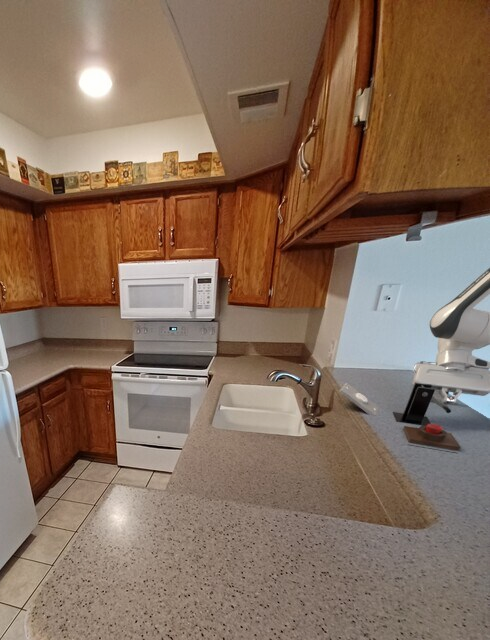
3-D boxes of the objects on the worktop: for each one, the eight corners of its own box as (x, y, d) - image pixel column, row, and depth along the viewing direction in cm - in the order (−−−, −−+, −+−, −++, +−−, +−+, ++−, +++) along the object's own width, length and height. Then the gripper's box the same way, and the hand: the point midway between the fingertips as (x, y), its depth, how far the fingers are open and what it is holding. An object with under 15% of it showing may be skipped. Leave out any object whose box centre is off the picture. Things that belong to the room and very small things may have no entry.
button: (438, 430, 97) (440, 424, 96) (441, 435, 94) (444, 430, 93) (423, 427, 98) (426, 422, 98) (426, 433, 96) (429, 427, 95)
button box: (448, 439, 100) (453, 427, 98) (457, 453, 92) (463, 441, 90) (401, 432, 104) (406, 420, 102) (407, 445, 97) (412, 433, 95)
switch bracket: (425, 419, 111) (440, 384, 105) (431, 429, 105) (447, 392, 99) (391, 414, 115) (404, 380, 109) (395, 424, 109) (408, 387, 102)
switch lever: (442, 409, 107) (449, 403, 105) (446, 415, 103) (454, 409, 101) (414, 388, 108) (420, 383, 106) (417, 394, 104) (424, 388, 102)
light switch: (378, 414, 111) (343, 387, 115) (364, 425, 115) (330, 399, 119) (382, 406, 117) (348, 380, 121) (369, 417, 121) (336, 392, 125)
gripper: (419, 355, 107) (414, 393, 104) (498, 363, 100) (495, 404, 97) (411, 365, 113) (406, 401, 110) (485, 373, 106) (483, 412, 103)
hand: (449, 402), depth 103 cm, fingers closed
